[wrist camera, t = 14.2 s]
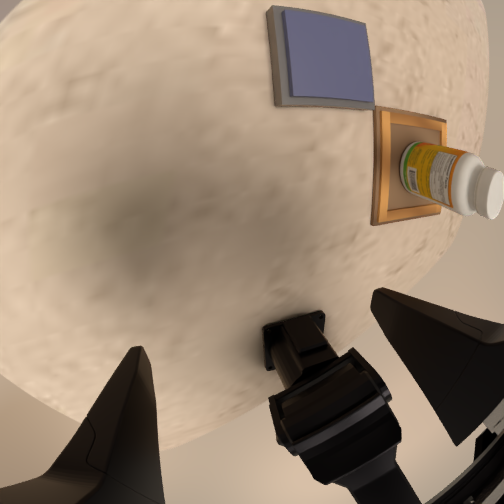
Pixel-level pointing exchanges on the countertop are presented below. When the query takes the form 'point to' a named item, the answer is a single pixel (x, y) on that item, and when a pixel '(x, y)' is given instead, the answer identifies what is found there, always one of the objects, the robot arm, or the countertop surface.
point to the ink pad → (319, 60)
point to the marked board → (389, 158)
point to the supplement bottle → (452, 179)
